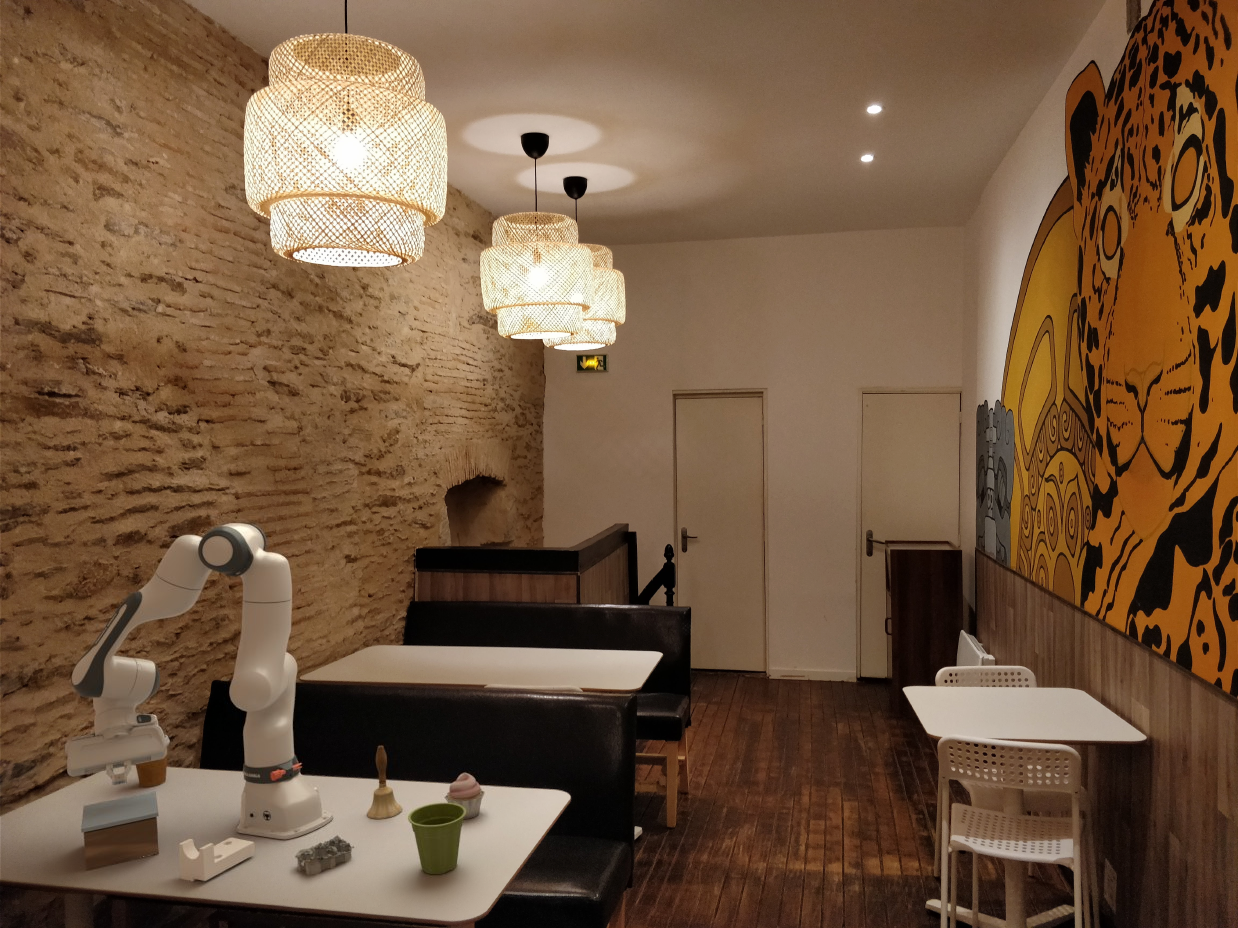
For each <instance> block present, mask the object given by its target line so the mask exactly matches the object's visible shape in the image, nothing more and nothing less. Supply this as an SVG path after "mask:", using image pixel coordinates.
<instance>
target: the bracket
mask: <svg viewBox="0 0 1238 928" xmlns="http://www.w3.org/2000/svg"><path fill="white" fill-rule="evenodd" d="M255 849H256V848H255V841H250V840H245V839H241V838H240V839H239V838H236V837H229V838H227V839H225V840H223V841H221V842H219V843H217V844H215V845H214V843H211V842H210V843H208V844H205V845H204V846H202V847H200V848H199V851H198V850H197V848H196V846H195V843H194V839H193V838H188V839H185V840H184V841H182V842H180V843H179V844H178V850H179V851H178V852H179V867H180V868H179V869H180V879H181V880H186V881H189V880H190V881H189V882H195V881H197V880H200V881H203V882H206V881H208V880H210V879H212V878H214V877H215V876H217V875H219V874H221V873H223V872H224V871H226V870H228V869H230V868H232V867H233V866H236V865H237V864H239V863H242V862H243V861H245V860H246V859H248V858H250V857H252V856H254V855H256V850H255Z"/></svg>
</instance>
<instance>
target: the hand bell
mask: <svg viewBox="0 0 1238 928" xmlns="http://www.w3.org/2000/svg"><path fill="white" fill-rule="evenodd" d="M387 758H388V757H387V753H386V750H385V748H384V745H378V746H377V750H376V754H375V764H376V765H375V766H376V769H377V771H378V788H376V789H374V790H373V795H372V796H373V797H372V798H373V799H372V803H371V806H370V808H369V809H368V811H367V812H366V816H367V817H368V818H369V819H373V820H384V819H388V818H392V817H395V816H397V815H399V814H400V813H401V812H402V811H403V808H402V805H400V804H399V803H398V802H397V800H396V799H395V795H394V789H393V788H392V787H390V786H387V776H386V775H387V774H386V771H387V765H388V760H387Z"/></svg>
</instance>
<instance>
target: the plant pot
mask: <svg viewBox="0 0 1238 928" xmlns="http://www.w3.org/2000/svg"><path fill="white" fill-rule="evenodd" d="M465 814H466V809H465V808H464V807H463V806H461V805H459V804H455V803H448V802H437V803H435V802H434V803H430V804H426V805H423V806H420V807H416V808H415V809H414V810H412V811H410V813H409V814H408V815H407V821H409V823H410V824H411V828H412V831H413V833H414V838H415V842H416V846H417V852H418V856H419V857H418V858H419V861H420V867H421V871H424V872H425V873H427V874H429V875H442V874H446V873H447V872H448V871H452V870H454V869H455V868H456V867H457V866H458V857H459V849H460V842H461V841H460V840H461V834H462V826H463V825H464V824H463V823H464V819H463V817H464V816H465Z"/></svg>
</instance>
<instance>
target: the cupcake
mask: <svg viewBox="0 0 1238 928" xmlns="http://www.w3.org/2000/svg"><path fill="white" fill-rule="evenodd" d="M448 789H449V792H446V795H445V796H444V799H445V801H446V803H455V804H459V805H461V806H463V807H464V808H465V809H466V814H465V816H464V817H463V820H467V819H471V818H474V817H477V816H478V815H479V813H480V810H481V805H482V799H483V798H484V795H485V793H486V792H485V791H484V790H483V789H482V788H481V785H480V784H479V782H478V781H476V778H475V777H474V776H473V775H471V774H470V773H467V772H463V773H461V774H460V775H458V777H457V778H456V780H455V781H453V782H452V783H451V784H450V785H449V788H448Z"/></svg>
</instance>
